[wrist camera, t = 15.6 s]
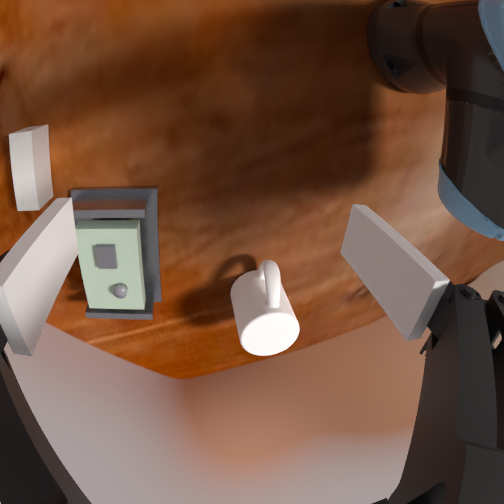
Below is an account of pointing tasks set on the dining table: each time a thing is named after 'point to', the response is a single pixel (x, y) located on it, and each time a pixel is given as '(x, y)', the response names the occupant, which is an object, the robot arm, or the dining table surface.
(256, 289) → the mug
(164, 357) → the dining table surface
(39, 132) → the stand
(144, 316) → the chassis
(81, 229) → the board
